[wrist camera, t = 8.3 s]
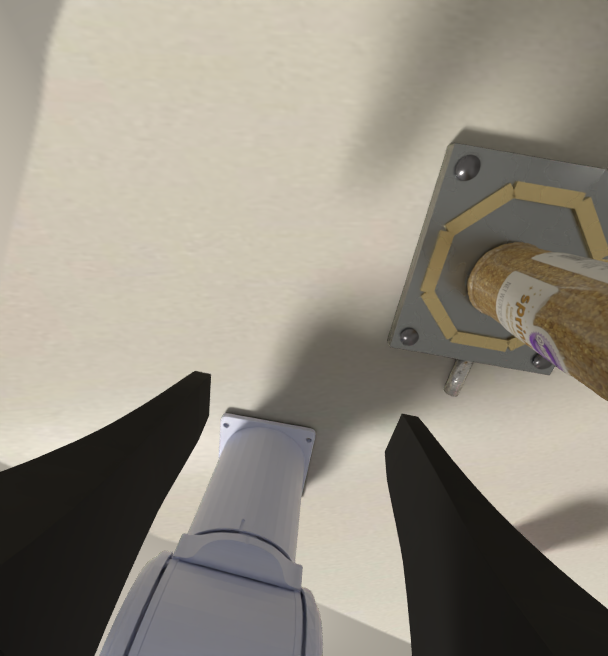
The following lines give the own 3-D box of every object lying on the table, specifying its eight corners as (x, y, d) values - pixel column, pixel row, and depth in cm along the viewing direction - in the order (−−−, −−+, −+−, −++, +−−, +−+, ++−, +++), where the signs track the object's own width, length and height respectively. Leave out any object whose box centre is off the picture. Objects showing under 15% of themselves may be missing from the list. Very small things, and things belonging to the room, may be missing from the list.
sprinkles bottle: (448, 285, 18) (705, 473, 6) (512, 223, 16) (1071, 299, 4) (498, 328, 19) (814, 572, 7) (564, 273, 17) (1153, 463, 5)
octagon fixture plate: (520, 401, 22) (530, 411, 21) (376, 375, 22) (378, 384, 21) (648, 180, 16) (672, 179, 15) (447, 146, 16) (456, 142, 15)
